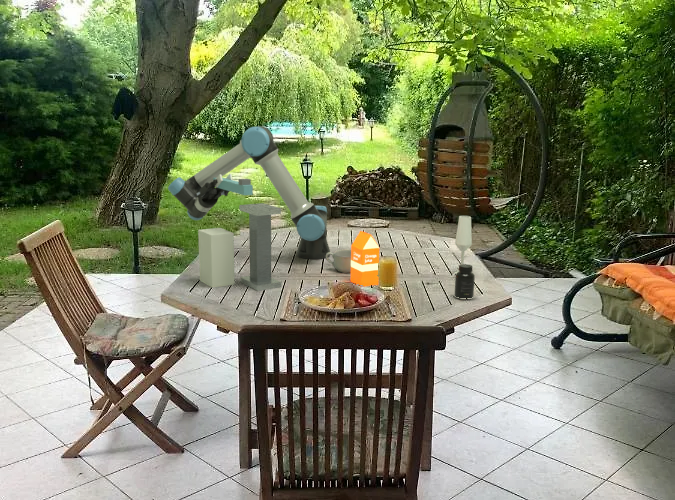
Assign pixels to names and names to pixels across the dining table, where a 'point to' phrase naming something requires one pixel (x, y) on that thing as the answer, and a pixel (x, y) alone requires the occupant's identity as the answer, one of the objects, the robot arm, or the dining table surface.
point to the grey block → (216, 257)
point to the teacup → (341, 260)
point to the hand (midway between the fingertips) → (226, 177)
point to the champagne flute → (463, 235)
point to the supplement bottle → (464, 282)
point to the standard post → (260, 246)
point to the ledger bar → (237, 186)
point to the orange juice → (364, 260)
